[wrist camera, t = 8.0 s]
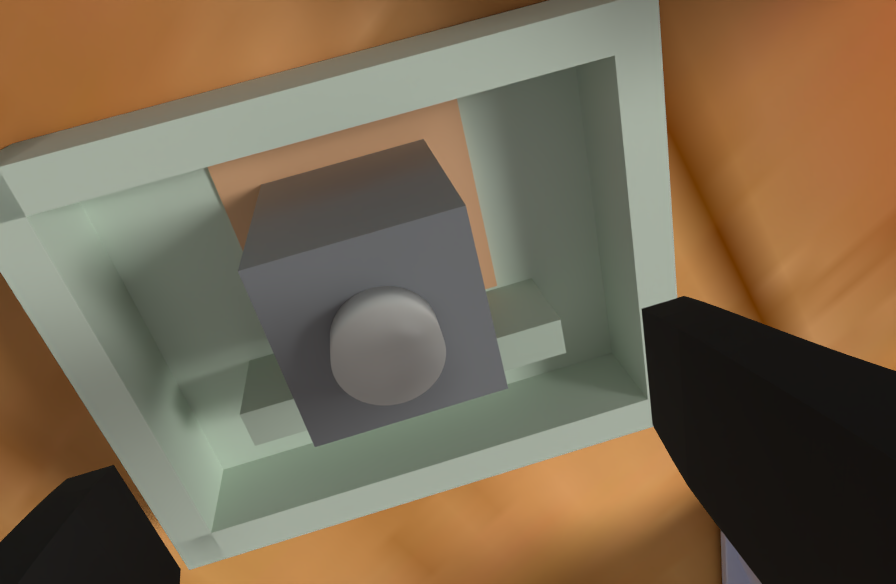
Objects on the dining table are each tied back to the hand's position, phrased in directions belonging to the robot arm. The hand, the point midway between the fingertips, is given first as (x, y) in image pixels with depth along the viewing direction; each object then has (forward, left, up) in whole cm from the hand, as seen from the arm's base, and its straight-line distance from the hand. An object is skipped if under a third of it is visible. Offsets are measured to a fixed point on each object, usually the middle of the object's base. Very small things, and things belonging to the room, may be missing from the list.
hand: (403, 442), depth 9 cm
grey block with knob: (0, 0, -8) cm, 8 cm away
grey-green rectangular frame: (-2, 0, -9) cm, 9 cm away
